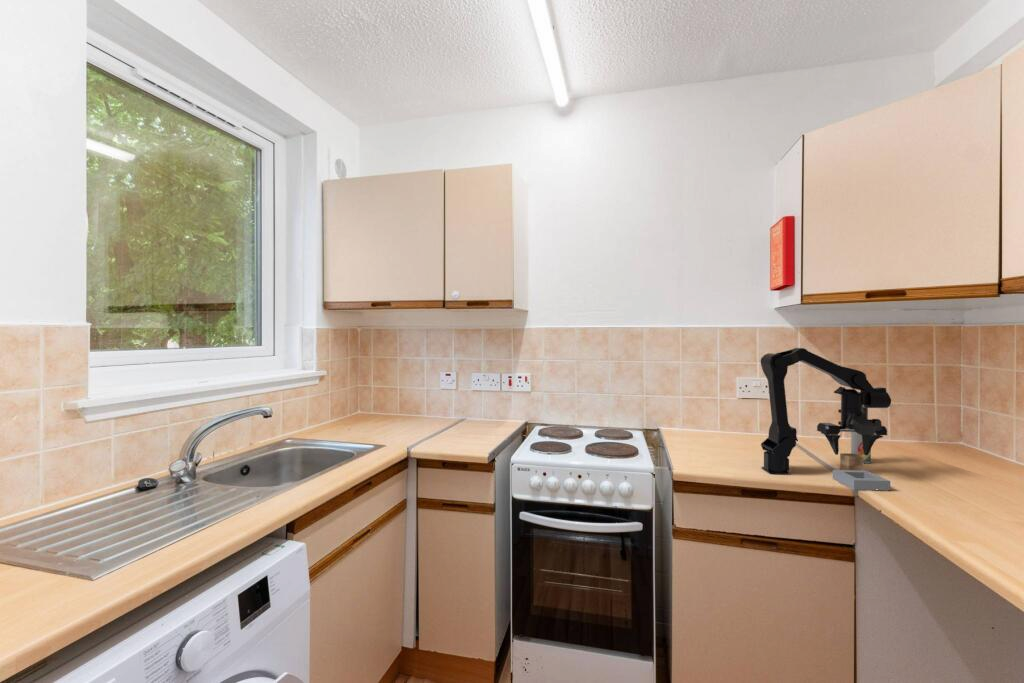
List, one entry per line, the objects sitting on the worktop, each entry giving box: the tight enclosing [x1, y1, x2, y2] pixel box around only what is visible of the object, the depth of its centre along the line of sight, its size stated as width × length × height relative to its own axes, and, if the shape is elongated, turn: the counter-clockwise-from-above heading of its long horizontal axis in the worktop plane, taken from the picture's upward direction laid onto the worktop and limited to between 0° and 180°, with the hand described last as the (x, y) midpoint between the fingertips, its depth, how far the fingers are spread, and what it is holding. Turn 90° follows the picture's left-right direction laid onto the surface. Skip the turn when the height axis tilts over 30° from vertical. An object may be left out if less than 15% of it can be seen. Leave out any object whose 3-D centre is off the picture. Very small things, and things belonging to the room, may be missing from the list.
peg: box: [839, 452, 864, 470], centre depth 148 cm, size 4×4×6 cm
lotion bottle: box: [850, 406, 872, 465], centre depth 161 cm, size 6×6×20 cm
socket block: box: [832, 469, 891, 492], centre depth 136 cm, size 10×10×3 cm
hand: (851, 454), depth 148 cm, fingers open, 9 cm apart
